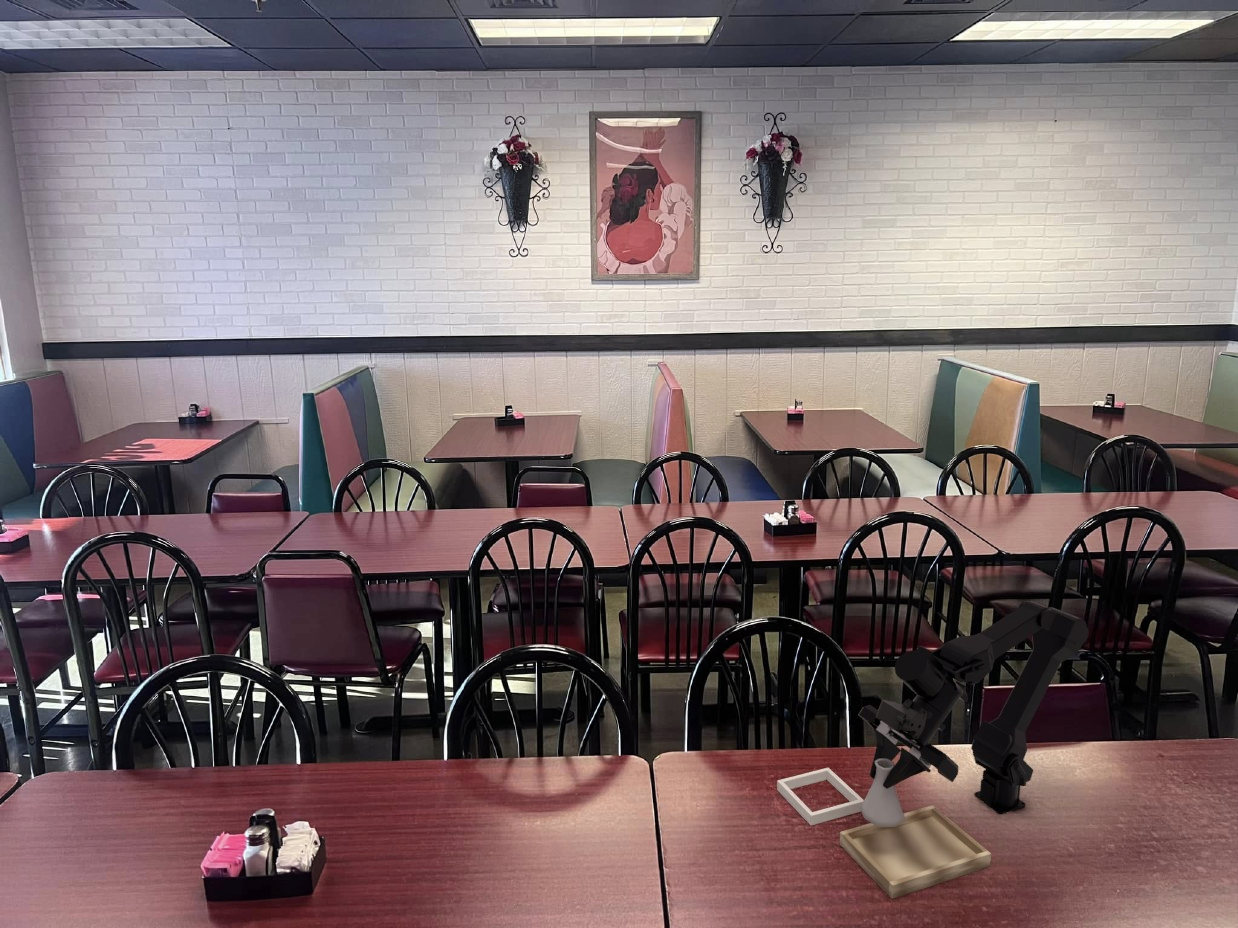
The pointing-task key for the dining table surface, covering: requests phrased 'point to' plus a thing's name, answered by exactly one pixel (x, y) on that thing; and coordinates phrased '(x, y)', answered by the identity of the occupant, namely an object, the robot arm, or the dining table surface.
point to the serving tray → (914, 852)
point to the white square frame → (824, 814)
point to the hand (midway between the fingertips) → (877, 782)
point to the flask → (882, 799)
